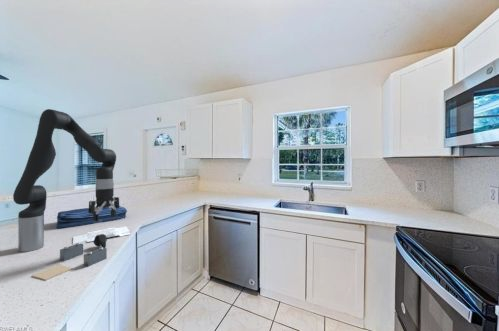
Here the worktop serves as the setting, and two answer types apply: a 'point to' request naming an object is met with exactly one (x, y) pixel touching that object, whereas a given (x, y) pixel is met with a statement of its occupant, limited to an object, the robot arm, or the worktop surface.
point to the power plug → (100, 240)
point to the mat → (52, 272)
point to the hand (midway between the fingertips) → (104, 219)
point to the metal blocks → (88, 258)
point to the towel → (86, 217)
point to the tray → (108, 232)
